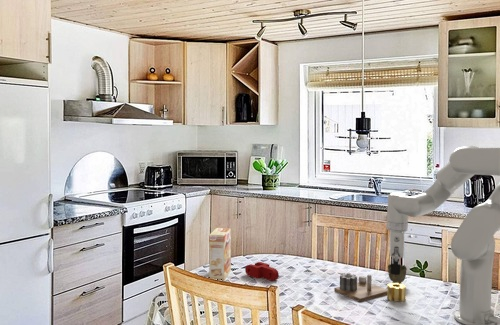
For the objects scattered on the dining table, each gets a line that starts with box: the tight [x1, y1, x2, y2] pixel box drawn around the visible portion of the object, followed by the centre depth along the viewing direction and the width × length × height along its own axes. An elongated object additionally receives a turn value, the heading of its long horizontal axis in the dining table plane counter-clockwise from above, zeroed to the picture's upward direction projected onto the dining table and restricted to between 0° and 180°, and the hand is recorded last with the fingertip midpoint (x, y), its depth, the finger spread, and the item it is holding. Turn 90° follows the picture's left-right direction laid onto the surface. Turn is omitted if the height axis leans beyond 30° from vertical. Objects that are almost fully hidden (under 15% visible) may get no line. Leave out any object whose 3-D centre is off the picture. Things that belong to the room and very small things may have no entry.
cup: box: [387, 264, 408, 284], centre depth 194 cm, size 8×7×8 cm
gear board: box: [333, 272, 387, 303], centre depth 186 cm, size 14×16×7 cm
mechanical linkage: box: [244, 261, 280, 282], centre depth 206 cm, size 16×7×5 cm, turn 43°
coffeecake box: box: [208, 227, 232, 281], centre depth 209 cm, size 15×7×20 cm, turn 171°
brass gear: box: [386, 282, 407, 302], centre depth 179 cm, size 7×7×5 cm
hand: (394, 270), depth 179 cm, fingers open, 9 cm apart
